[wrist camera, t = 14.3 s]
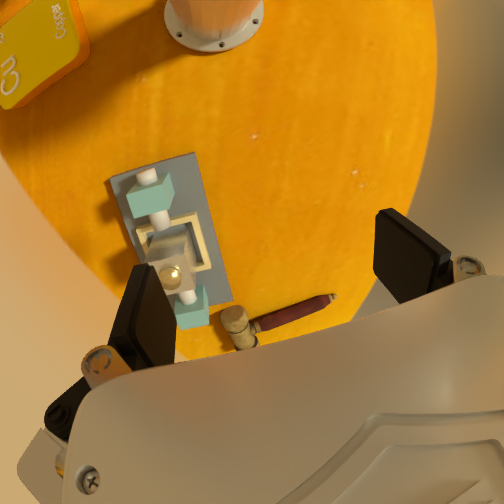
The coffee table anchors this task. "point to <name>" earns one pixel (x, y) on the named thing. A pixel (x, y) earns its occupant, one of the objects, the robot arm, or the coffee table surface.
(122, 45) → the coffee table surface
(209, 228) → the shaft stand
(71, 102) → the coffee table surface
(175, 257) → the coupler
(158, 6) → the coffee table surface
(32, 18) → the element tile
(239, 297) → the coffee table surface
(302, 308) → the gavel
